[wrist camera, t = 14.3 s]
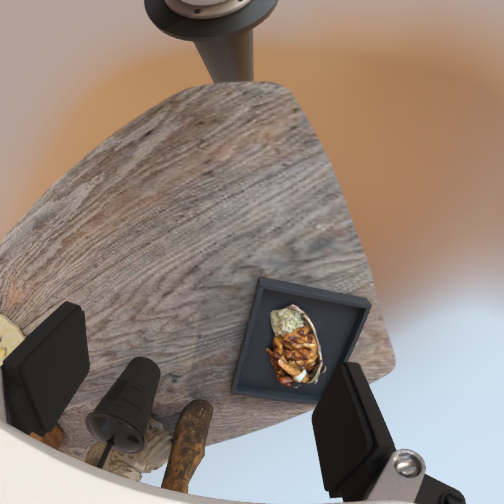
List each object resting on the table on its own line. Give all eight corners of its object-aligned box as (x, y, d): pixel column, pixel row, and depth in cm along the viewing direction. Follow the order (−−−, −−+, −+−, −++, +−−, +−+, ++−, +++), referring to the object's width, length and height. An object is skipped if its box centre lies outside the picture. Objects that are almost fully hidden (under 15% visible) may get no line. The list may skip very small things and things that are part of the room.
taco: (305, 298, 35) (310, 311, 32) (328, 369, 38) (333, 385, 35) (250, 316, 36) (250, 331, 32) (280, 384, 39) (282, 401, 35)
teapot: (163, 386, 40) (135, 462, 26) (206, 430, 43) (194, 502, 28) (85, 412, 43) (54, 467, 29) (124, 448, 46) (103, 503, 32)
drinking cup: (115, 369, 40) (60, 465, 20) (133, 339, 38) (70, 444, 19) (156, 395, 41) (119, 498, 22) (178, 368, 39) (140, 483, 20)
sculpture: (220, 422, 42) (201, 589, 13) (178, 407, 41) (134, 574, 13) (237, 398, 40) (225, 588, 12) (191, 381, 40) (145, 573, 11)
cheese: (5, 333, 41) (18, 405, 35) (-18, 321, 35) (-8, 400, 28) (56, 308, 44) (74, 387, 38) (33, 293, 38) (48, 381, 31)
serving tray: (259, 276, 35) (259, 282, 33) (366, 298, 36) (372, 305, 34) (231, 383, 40) (230, 393, 38) (323, 396, 40) (325, 405, 38)
